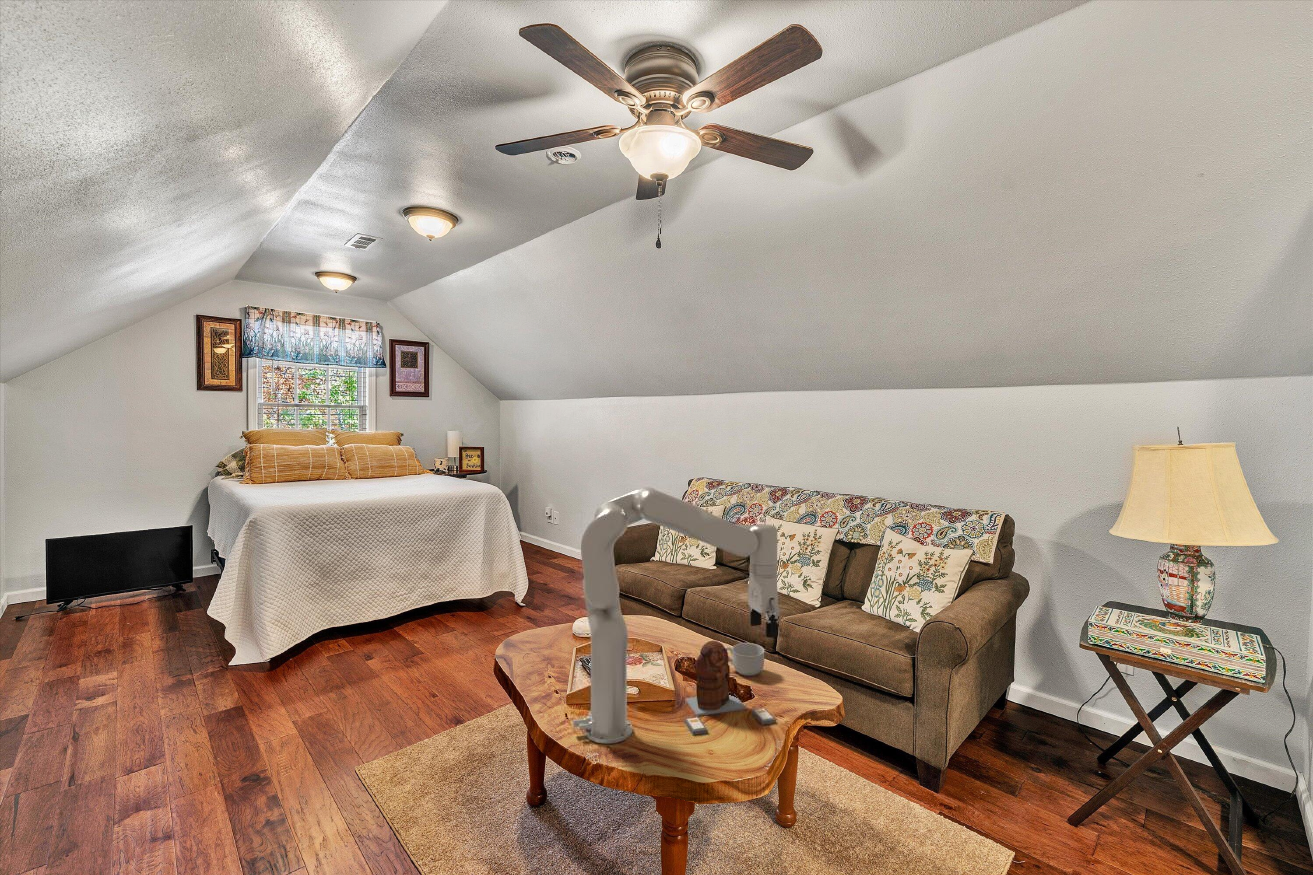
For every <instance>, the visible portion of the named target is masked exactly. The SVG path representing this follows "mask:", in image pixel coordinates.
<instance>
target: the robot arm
mask: <svg viewBox="0 0 1313 875" xmlns="http://www.w3.org/2000/svg"><path fill="white" fill-rule="evenodd" d="M642 520H645V521H647V522H650V523H651V524H654V525H658V526H661V527H663V528H666V529H668V530H671V531H673V532H676V533H678V534H681V535H684V536H686V537H689V538H691V539H693V540H696V541H700V542H702V543H705V544H708V545H710V546H712V547H714V548H718V549H719V550H722V551H725V552H727V553H730V554H732V555H733V554H734V555H736V556H738V557H742V558H743V557H745V558H747V557H749V577H748V578H749V579H748V590H747V591H748V592H747V604H748V606H749V611H750V612H749V613H750V620H749V621H750V624H749V625H750V626H751V627H756V626H761V625H762V615H765V618H766V622H765V637H766V638H776V637H778V623H779V619H780V614H781V608H780V607H779V594H778V581H777V576H778V530H777V527H776V526H775V525H772V524H767V523H765V524H754V525H751V524H741V523H733V522H731V521H728V520H726V519H723V518H721V517H719V516H716V515H715V514H713V513H711V512H710V511H707V510H706V509H704V508H702V507H700V506H697V505H695V504H692V503H690V502H687V501H684V500H682V499H679V498H677V497H674V496H671V495H669V494H667V493H664V492H663V491H662V492H661V491H659V490H657V489H655V488H653V487H650V486H649V487H647V486H646V487H642V488H639V489H637V490H634V491H631V492H629V493H627V494H624V495H622V496H618V497H616V498H613V499H611V500H608V501H606V502H604V503H602V504H600V506H598V507H597V509H596V510H595V513H594V518H593V519H592V520H591V521H590V523H589V524H588V525H587V527H586V529H585V530H584V532H583V534H582V536H581V541H580V542H581V543H580V554H581V556H580V557H581V564H582V573H583V580H582V588H583V590H582V591H583V595H584V600H585V601H584V602H585V608H586V615H587V621H588V627H589V633H590V711H589V712H587V713H588V714H587V716H584V718H574V719H572V727H573V728H578V730H579V731H584V734H585V736H586V738H587V739H588V740H590V741H591V742H595V743H597V744H617V743H619V742H622V741H623V742H624V741H625V740H626V739H628V738H629V737H631V735H632V733H633V725H632V723H631V722H630V721H629V720H628V719H627V718H628V716H627V714H628V712H627V710H628V709H627V706H628V704H627V703H628V701H627V699H628V697H627V696H628V693H627V692H628V690H627V689H628V688H627V687H628V686H627V685H628V684H627V683H628V674H627V669H628V668H627V665H628V663H627V662H628V660H627V659H628V657H627V656H628V645H629V634H628V633H629V632H628V627H627V624H626V621H625V618H624V616H623V613H622V609H621V608H622V607H621V602H620V591H621V590H620V583H619V580H618V575H617V570H616V565H615V556H614V555H615V554H614V546H615V544H616V542H617V540H618V539H619V538H620V537H622V536H623V535H624V534H625V532H627V529H628V526H630V525H632V524H635V523H637V522H639V521H642ZM770 615H771V616H770Z"/></svg>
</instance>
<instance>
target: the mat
mask: <svg viewBox="0 0 1313 875" xmlns="http://www.w3.org/2000/svg"><path fill="white" fill-rule="evenodd" d="M736 697H737V696H736ZM736 697H734V696H731V695H729V700H726V704H724V705H723V706H721V708H719V709H716V710H705V709H700V708H699V707H698V703H697V696H694V697H687V698H686V697H685V702H686V703H687V705H688V706H689V707H690V709H691V710H692V712H693V713H694V714H695V715H696V716H695V717H700V716H701V717H702V716H706V715H714V714H716V715H717V714H722V713H729V712H736V711H743V710H747V707H746V705H744V704H743V702H742V701H741V700H740V699H739V698H738V697H737V698H736Z"/></svg>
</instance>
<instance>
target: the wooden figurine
mask: <svg viewBox="0 0 1313 875" xmlns="http://www.w3.org/2000/svg"><path fill="white" fill-rule="evenodd" d="M725 647H726V646H724V644H723V643H722V642H719V641H718V640H710V641H707V642H705V643H704V644H703V646H702V647H701V649H700V651H699V655H698V656H697V658H696V660H695V674H696V676H697V680H696V689H695V690H696V697H697V703H698V707H699V708H700V709H705V710H716V709H719V708H721V706H723V705H724V704H726V700H729V693H730V690H729V684H728V680H729V679H730V673H731V670H730V669H731V668H730V667H731V666H730V665H729V662H730V661H729V659H728V657H729V653H728V650H727V649H726V648H725Z"/></svg>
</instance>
